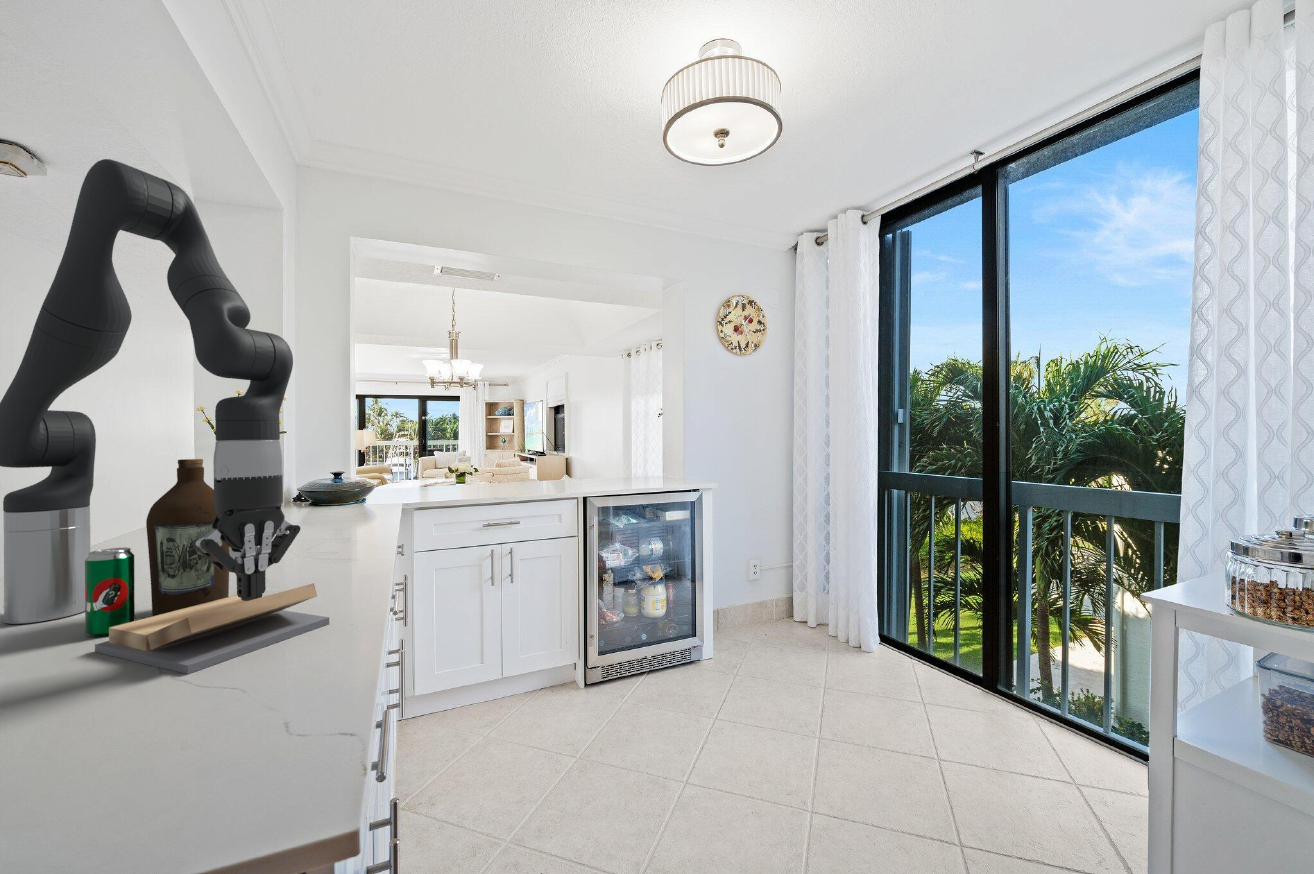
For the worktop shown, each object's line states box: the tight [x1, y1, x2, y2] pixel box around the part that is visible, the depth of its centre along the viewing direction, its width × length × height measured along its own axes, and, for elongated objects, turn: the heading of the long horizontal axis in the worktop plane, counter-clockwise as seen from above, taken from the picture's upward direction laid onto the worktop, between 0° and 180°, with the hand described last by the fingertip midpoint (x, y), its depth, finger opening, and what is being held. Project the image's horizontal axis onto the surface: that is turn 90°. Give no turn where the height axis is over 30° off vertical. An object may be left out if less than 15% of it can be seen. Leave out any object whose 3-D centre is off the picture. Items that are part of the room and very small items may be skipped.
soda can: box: [84, 547, 136, 638], centre depth 77 cm, size 5×5×12 cm
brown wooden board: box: [148, 582, 318, 650], centre depth 73 cm, size 9×16×2 cm, turn 159°
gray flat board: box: [94, 609, 330, 675], centre depth 75 cm, size 20×18×1 cm
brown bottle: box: [145, 458, 230, 617], centre depth 87 cm, size 11×11×25 cm
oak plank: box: [108, 594, 246, 651], centre depth 76 cm, size 8×16×2 cm, turn 159°
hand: (251, 599), depth 72 cm, fingers closed
